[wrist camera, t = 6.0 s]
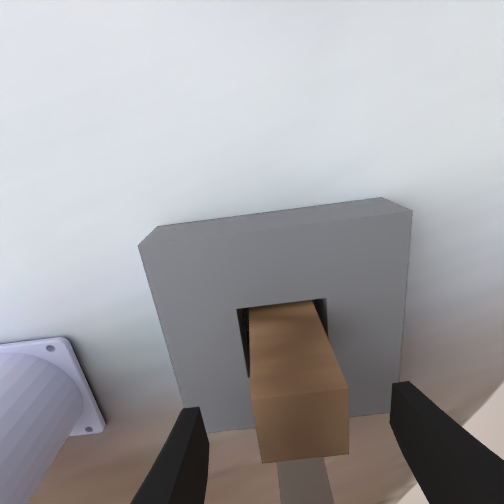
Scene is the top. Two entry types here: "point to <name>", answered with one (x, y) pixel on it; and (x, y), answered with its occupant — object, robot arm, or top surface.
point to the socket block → (282, 291)
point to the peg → (296, 385)
